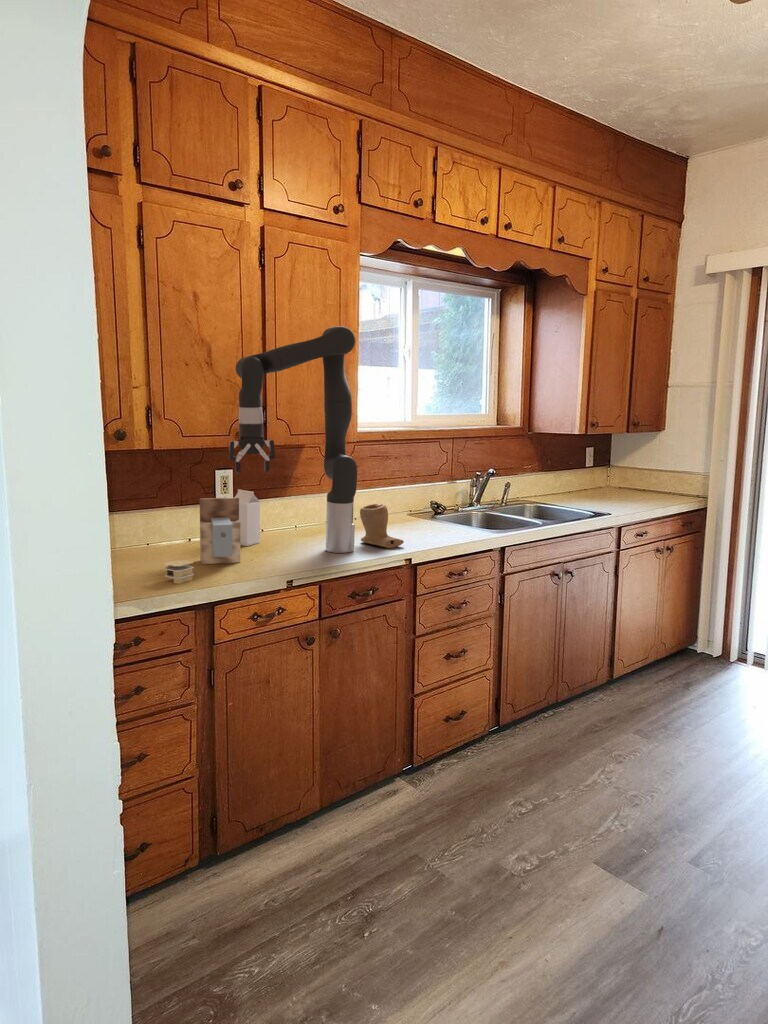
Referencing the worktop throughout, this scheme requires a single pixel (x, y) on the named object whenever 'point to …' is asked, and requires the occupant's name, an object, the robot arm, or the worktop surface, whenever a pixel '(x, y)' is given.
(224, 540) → the blue-grey block
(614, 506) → the worktop surface
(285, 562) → the worktop surface
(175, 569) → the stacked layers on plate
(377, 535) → the tan boot vase
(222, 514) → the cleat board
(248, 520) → the milk carton
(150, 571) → the worktop surface
